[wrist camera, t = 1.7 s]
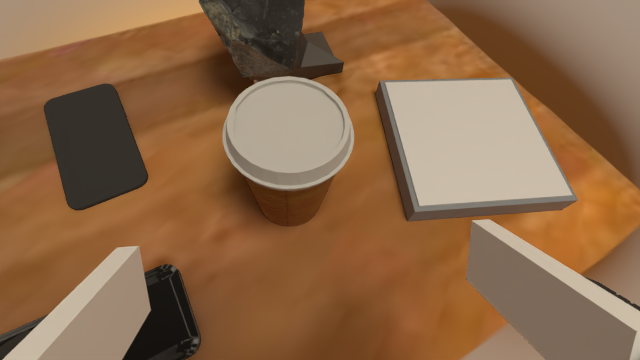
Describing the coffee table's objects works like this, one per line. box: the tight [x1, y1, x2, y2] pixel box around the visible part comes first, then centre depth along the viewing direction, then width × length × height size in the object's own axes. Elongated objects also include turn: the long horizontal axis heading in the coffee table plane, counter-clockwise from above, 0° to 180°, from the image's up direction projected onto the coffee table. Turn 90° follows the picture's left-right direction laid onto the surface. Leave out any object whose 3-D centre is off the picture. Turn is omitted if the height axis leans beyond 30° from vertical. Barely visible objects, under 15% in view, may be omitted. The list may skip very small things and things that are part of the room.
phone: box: [44, 84, 148, 210], centre depth 35 cm, size 7×1×15 cm
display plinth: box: [376, 78, 578, 221], centre depth 37 cm, size 17×17×2 cm
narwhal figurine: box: [199, 0, 344, 85], centre depth 34 cm, size 14×15×18 cm
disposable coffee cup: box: [223, 76, 354, 226], centre depth 28 cm, size 10×10×12 cm
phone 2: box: [0, 265, 201, 360], centre depth 26 cm, size 8×1×15 cm
